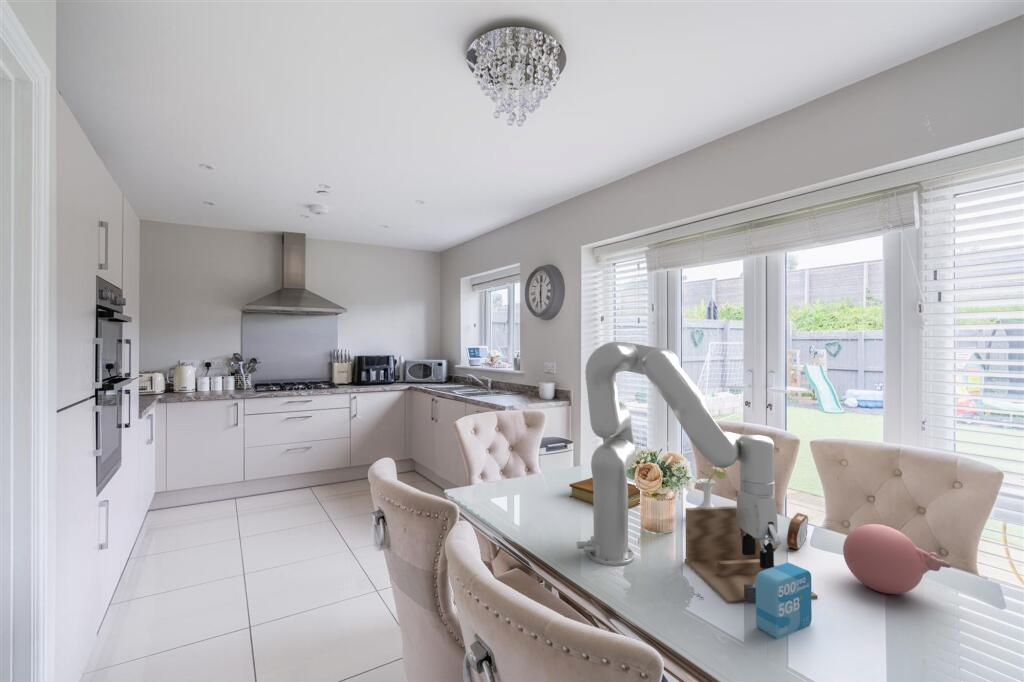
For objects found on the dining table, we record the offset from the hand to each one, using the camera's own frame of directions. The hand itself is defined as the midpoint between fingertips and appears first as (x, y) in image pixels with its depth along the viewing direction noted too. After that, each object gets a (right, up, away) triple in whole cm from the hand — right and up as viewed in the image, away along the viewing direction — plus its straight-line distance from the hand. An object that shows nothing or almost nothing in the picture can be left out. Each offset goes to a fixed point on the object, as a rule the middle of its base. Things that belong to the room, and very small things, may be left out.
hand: (757, 560), depth 114 cm
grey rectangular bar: (0, -7, -6) cm, 9 cm away
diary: (-23, -8, +66) cm, 70 cm away
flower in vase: (+6, -7, +43) cm, 44 cm away
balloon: (+32, -7, -2) cm, 33 cm away
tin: (+25, -7, +25) cm, 37 cm away
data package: (-3, -7, -16) cm, 17 cm away
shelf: (-1, -7, +5) cm, 8 cm away
